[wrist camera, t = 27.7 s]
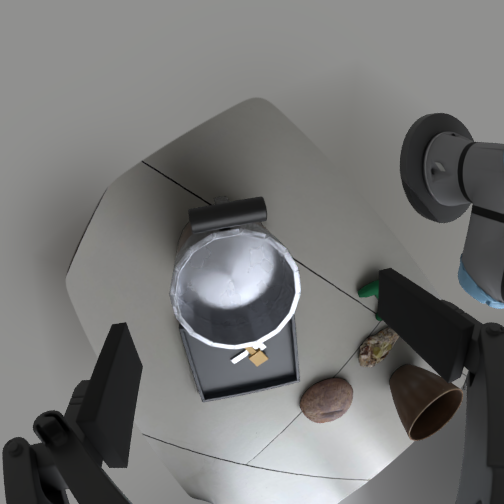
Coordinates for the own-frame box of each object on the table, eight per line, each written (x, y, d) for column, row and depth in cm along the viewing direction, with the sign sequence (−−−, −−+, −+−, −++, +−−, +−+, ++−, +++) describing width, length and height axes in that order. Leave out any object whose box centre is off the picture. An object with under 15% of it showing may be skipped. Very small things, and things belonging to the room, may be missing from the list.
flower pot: (409, 340, 62) (450, 380, 47) (434, 362, 67) (470, 398, 52) (364, 388, 64) (397, 435, 49) (395, 404, 69) (425, 444, 54)
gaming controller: (380, 308, 60) (406, 302, 56) (377, 323, 58) (404, 318, 53) (359, 279, 57) (386, 271, 53) (355, 295, 55) (384, 287, 50)
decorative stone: (295, 388, 60) (303, 405, 55) (348, 368, 61) (359, 384, 56) (303, 421, 64) (310, 438, 59) (351, 403, 65) (360, 418, 60)
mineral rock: (372, 377, 60) (360, 367, 56) (361, 364, 64) (348, 353, 59) (408, 342, 60) (400, 328, 55) (395, 330, 63) (386, 316, 59)
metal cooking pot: (291, 313, 43) (325, 369, 31) (187, 334, 41) (188, 399, 29) (276, 178, 37) (315, 190, 25) (155, 200, 35) (135, 222, 23)
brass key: (268, 356, 55) (268, 358, 55) (256, 364, 55) (257, 366, 55) (246, 334, 53) (246, 336, 52) (234, 343, 53) (234, 345, 52)
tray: (297, 375, 59) (300, 381, 57) (201, 395, 57) (202, 402, 55) (290, 301, 54) (293, 306, 52) (179, 323, 51) (179, 329, 49)
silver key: (257, 336, 54) (258, 338, 53) (265, 345, 55) (266, 347, 54) (227, 356, 54) (228, 358, 54) (236, 365, 55) (237, 367, 55)
